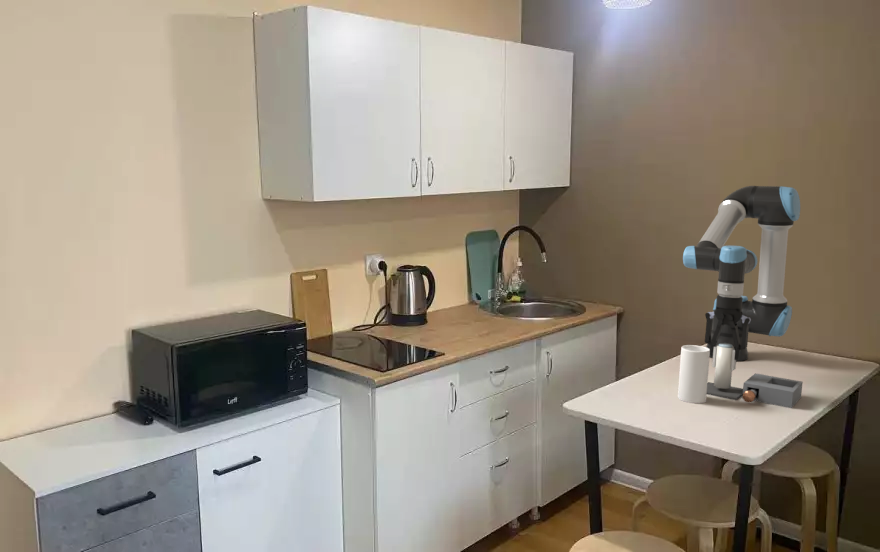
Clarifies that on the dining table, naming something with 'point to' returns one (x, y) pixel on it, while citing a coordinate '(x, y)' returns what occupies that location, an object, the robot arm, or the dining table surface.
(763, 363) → the dining table surface
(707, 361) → the cup
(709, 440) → the dining table surface
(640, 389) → the dining table surface
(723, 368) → the cylinder
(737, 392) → the mat
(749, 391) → the plunger
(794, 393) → the frame
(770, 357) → the dining table surface
